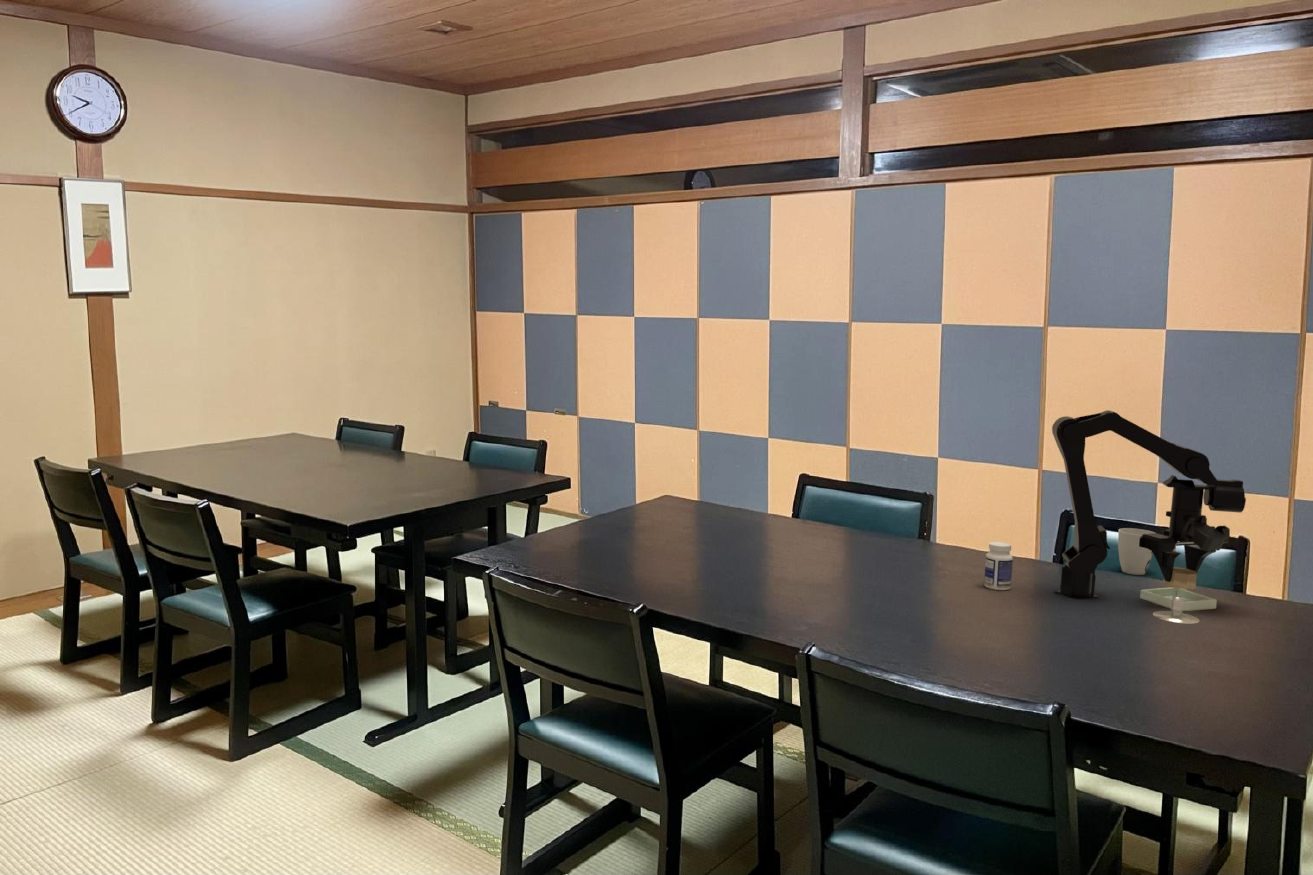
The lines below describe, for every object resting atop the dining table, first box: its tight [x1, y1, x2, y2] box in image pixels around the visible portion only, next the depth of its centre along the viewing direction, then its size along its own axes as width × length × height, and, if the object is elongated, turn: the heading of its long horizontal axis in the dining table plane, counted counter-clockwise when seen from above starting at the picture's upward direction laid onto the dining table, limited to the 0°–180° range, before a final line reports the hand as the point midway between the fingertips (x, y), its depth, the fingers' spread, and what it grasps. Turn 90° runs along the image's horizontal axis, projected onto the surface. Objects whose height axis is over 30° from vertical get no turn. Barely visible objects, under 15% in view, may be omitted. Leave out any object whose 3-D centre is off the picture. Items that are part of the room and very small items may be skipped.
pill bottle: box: [983, 541, 1014, 591], centre depth 220 cm, size 6×6×10 cm
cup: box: [1117, 527, 1155, 576], centre depth 238 cm, size 8×8×10 cm
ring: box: [1162, 566, 1198, 590], centre depth 210 cm, size 6×6×3 cm
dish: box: [1139, 587, 1218, 612], centre depth 210 cm, size 10×10×2 cm
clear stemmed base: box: [1152, 596, 1200, 625], centre depth 200 cm, size 8×8×5 cm
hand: (1179, 580), depth 210 cm, fingers closed on ring, 6 cm apart
